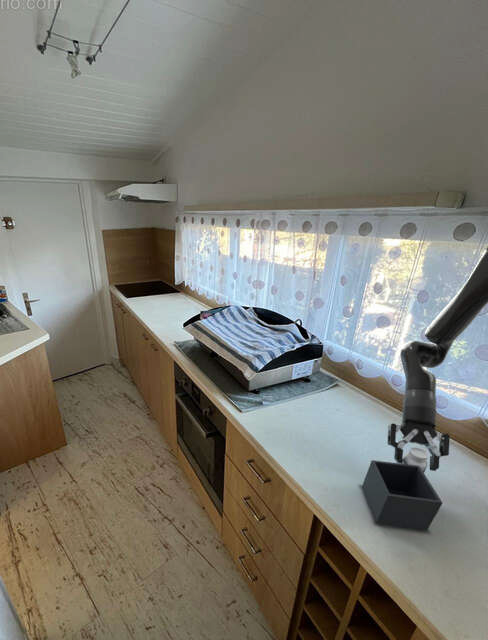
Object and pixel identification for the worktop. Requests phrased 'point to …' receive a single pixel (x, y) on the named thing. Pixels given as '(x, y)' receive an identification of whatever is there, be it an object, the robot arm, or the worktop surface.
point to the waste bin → (400, 495)
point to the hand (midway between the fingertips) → (415, 466)
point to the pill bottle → (416, 458)
